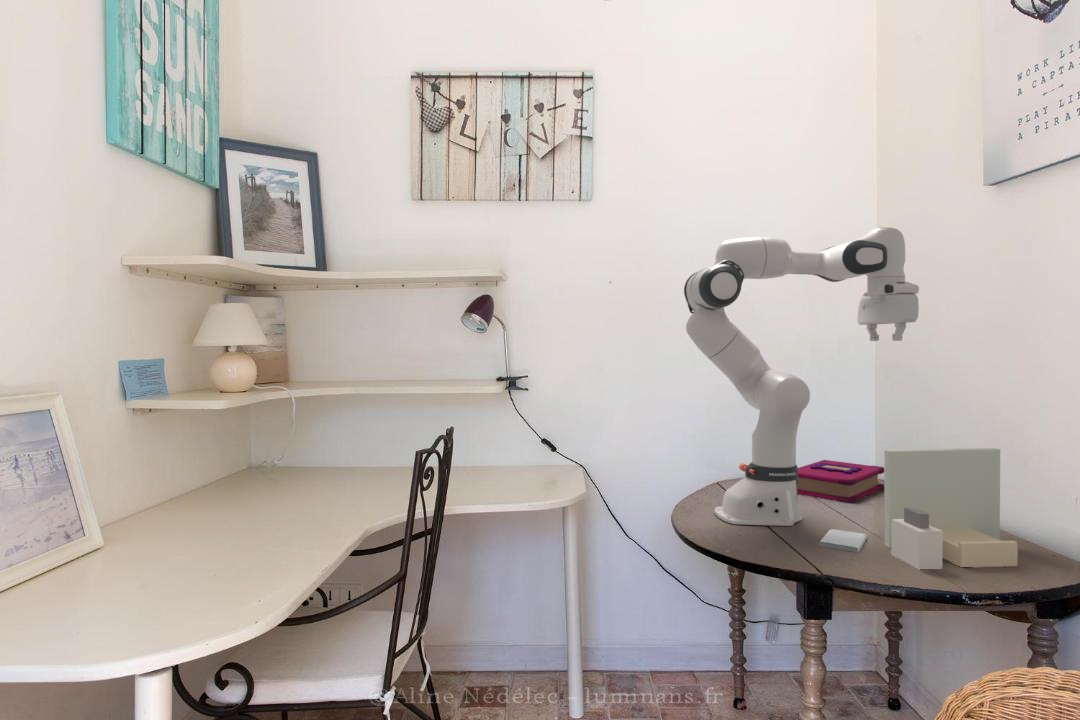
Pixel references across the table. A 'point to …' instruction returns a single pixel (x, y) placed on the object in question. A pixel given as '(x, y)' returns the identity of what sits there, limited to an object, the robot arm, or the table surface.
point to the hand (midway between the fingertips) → (885, 340)
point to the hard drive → (843, 540)
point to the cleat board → (951, 501)
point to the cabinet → (917, 540)
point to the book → (838, 480)
